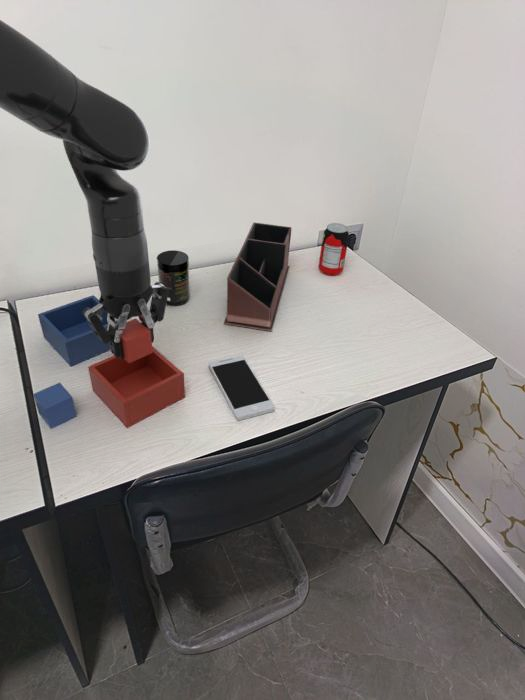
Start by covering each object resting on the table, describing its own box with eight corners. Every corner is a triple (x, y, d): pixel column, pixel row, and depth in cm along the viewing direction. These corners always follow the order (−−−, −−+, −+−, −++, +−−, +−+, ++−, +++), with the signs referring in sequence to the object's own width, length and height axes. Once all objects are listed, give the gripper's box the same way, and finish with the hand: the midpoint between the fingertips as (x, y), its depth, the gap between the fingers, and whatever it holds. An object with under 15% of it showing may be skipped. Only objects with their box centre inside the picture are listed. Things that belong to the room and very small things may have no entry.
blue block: (50, 429, 80) (44, 409, 77) (38, 413, 82) (32, 393, 80) (77, 416, 82) (72, 396, 80) (64, 401, 85) (59, 382, 82)
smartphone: (237, 421, 84) (237, 417, 83) (207, 365, 95) (207, 361, 94) (275, 410, 86) (275, 407, 86) (242, 358, 97) (242, 354, 96)
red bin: (127, 428, 81) (123, 403, 78) (92, 390, 87) (87, 366, 84) (185, 397, 88) (184, 373, 84) (149, 364, 94) (146, 341, 90)
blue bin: (70, 366, 92) (65, 342, 89) (43, 337, 98) (37, 314, 95) (126, 343, 99) (122, 320, 95) (97, 317, 105) (93, 294, 102)
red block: (128, 363, 79) (125, 341, 76) (114, 350, 81) (111, 328, 79) (153, 352, 82) (150, 330, 79) (138, 340, 84) (135, 318, 81)
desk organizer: (289, 267, 128) (293, 226, 121) (271, 332, 105) (275, 286, 98) (249, 261, 129) (251, 220, 122) (223, 324, 106) (224, 278, 99)
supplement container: (195, 295, 114) (194, 255, 108) (180, 309, 109) (177, 268, 103) (170, 288, 116) (168, 247, 110) (154, 301, 111) (150, 260, 105)
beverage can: (347, 271, 128) (355, 227, 120) (334, 279, 124) (341, 235, 116) (326, 262, 131) (333, 219, 123) (313, 271, 127) (319, 227, 119)
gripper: (87, 283, 65) (105, 380, 75) (178, 253, 73) (182, 344, 83) (61, 261, 69) (82, 356, 79) (150, 234, 77) (157, 324, 87)
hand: (133, 349), depth 81 cm, fingers closed on red block, 4 cm apart
